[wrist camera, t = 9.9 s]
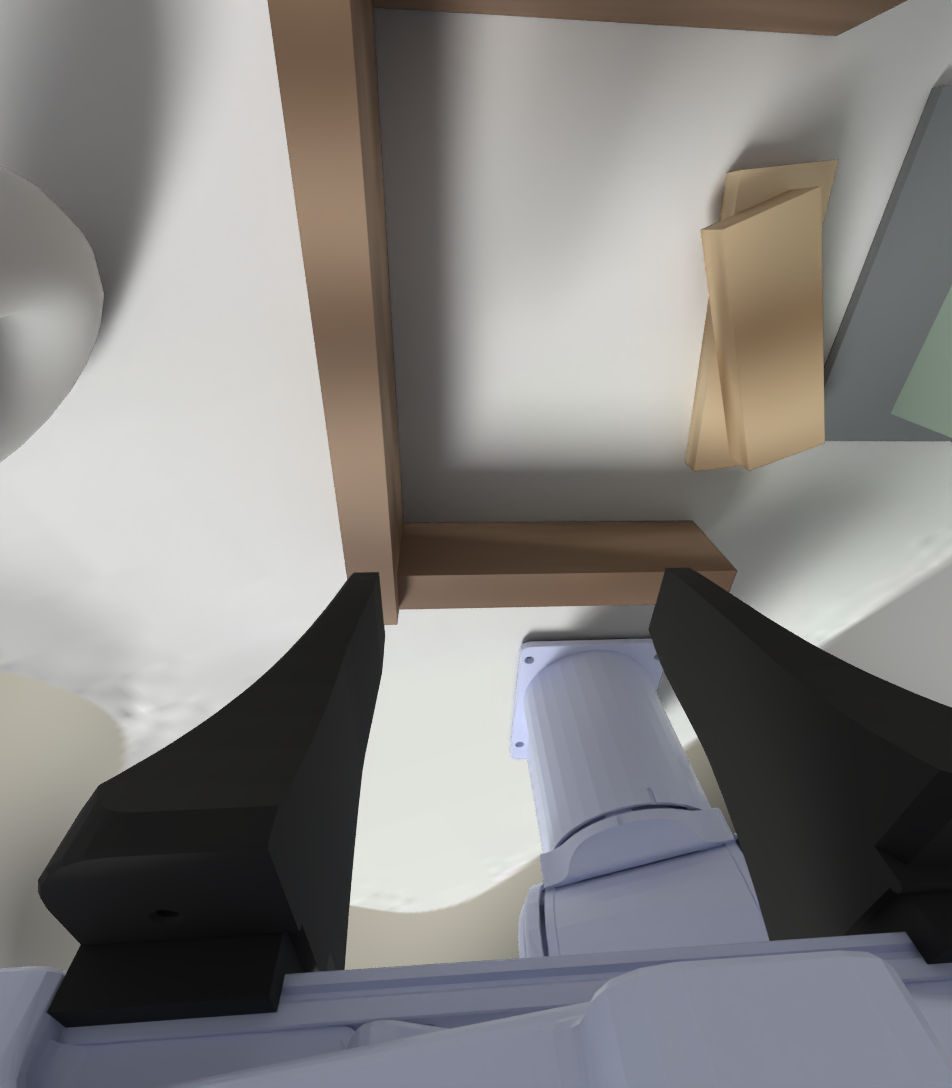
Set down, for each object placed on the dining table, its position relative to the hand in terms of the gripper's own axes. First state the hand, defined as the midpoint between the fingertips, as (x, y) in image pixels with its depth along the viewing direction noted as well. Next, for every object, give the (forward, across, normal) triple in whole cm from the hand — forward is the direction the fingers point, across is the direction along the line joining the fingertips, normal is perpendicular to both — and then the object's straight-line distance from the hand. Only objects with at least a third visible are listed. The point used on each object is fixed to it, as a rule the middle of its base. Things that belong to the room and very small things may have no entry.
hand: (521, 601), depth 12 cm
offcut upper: (+9, -9, -5) cm, 14 cm away
